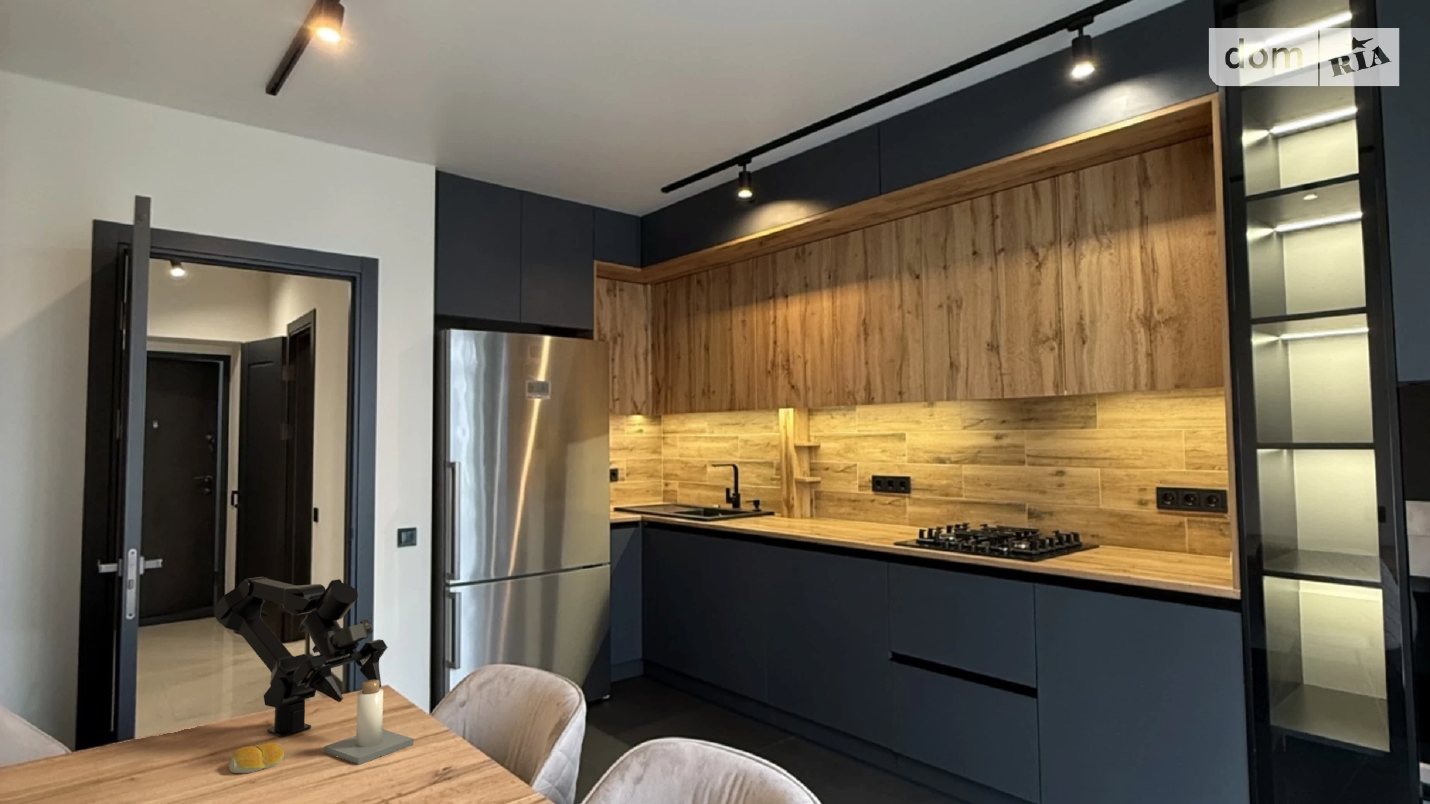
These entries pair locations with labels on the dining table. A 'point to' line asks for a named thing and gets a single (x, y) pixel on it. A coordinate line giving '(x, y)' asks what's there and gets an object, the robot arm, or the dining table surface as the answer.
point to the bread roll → (256, 758)
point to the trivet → (368, 747)
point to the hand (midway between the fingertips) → (360, 694)
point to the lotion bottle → (369, 714)
